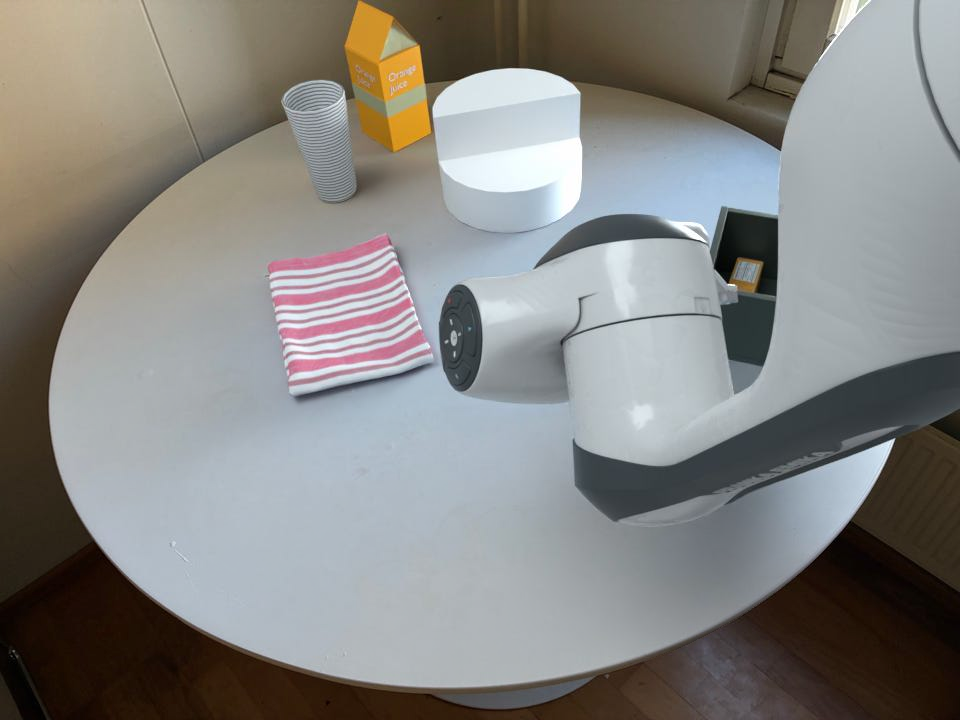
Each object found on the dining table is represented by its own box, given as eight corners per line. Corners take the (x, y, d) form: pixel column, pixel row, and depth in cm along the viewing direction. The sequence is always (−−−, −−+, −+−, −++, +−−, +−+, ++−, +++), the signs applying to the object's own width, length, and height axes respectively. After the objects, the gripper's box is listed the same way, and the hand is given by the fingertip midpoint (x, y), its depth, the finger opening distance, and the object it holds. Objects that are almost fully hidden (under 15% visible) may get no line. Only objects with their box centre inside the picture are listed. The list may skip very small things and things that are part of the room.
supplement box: (712, 329, 89) (734, 276, 95) (742, 337, 87) (763, 282, 93) (715, 308, 86) (738, 255, 92) (746, 316, 85) (767, 261, 91)
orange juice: (393, 152, 120) (370, 26, 105) (361, 132, 124) (335, 8, 110) (432, 132, 123) (415, 6, 108) (399, 113, 128) (379, -10, 113)
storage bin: (832, 291, 93) (855, 226, 85) (823, 378, 84) (848, 315, 76) (709, 269, 97) (721, 205, 89) (688, 350, 88) (700, 287, 81)
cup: (299, 188, 115) (271, 93, 103) (349, 168, 118) (327, 72, 106) (323, 216, 110) (296, 118, 98) (375, 193, 113) (355, 96, 101)
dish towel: (393, 247, 104) (389, 226, 102) (437, 367, 89) (433, 347, 86) (269, 278, 102) (261, 257, 99) (291, 407, 86) (283, 387, 84)
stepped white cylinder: (455, 244, 104) (445, 159, 94) (433, 163, 117) (422, 81, 107) (598, 218, 105) (603, 132, 95) (560, 141, 118) (560, 58, 109)
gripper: (666, 483, 55) (778, 469, 63) (647, 205, 57) (758, 227, 65) (603, 480, 60) (714, 468, 68) (588, 226, 62) (697, 243, 70)
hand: (735, 349), depth 67 cm, fingers open, 8 cm apart
